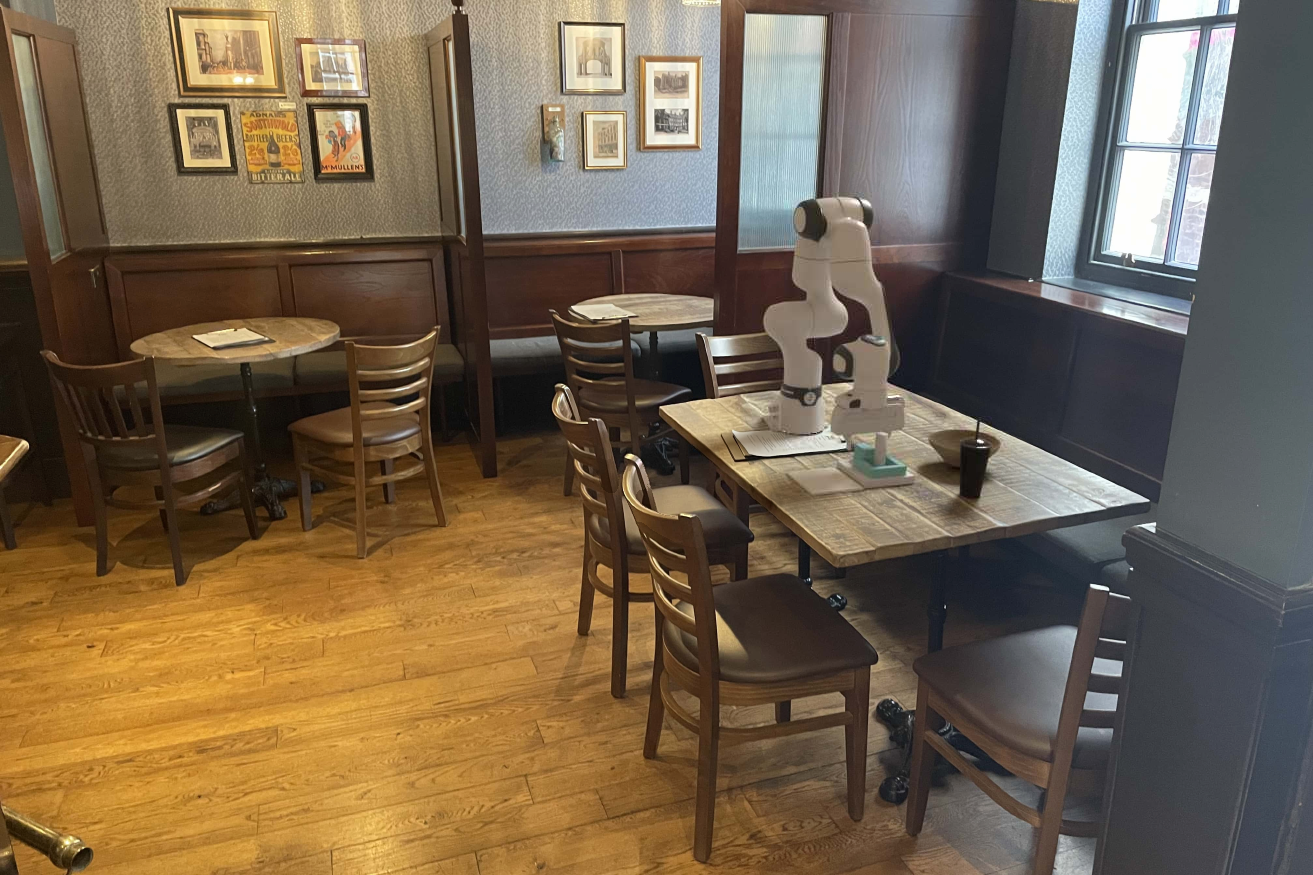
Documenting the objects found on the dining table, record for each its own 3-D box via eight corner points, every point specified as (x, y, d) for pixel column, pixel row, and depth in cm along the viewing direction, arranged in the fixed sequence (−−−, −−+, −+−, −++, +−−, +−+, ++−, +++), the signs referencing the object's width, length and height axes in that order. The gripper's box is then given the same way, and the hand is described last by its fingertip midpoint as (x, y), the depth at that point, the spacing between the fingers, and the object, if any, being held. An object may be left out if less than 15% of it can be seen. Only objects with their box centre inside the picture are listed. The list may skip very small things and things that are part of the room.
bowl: (922, 473, 243) (924, 444, 241) (929, 452, 260) (932, 425, 257) (996, 482, 237) (999, 453, 235) (998, 460, 253) (1002, 432, 251)
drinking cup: (985, 502, 224) (995, 424, 218) (952, 498, 226) (961, 420, 220) (986, 491, 231) (995, 415, 224) (954, 487, 233) (963, 412, 227)
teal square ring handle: (842, 458, 248) (843, 444, 247) (875, 455, 251) (876, 441, 249) (870, 478, 233) (872, 464, 232) (906, 475, 236) (907, 460, 235)
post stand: (836, 467, 247) (839, 424, 243) (883, 463, 251) (886, 421, 247) (865, 488, 232) (868, 443, 229) (914, 483, 236) (918, 438, 232)
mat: (786, 473, 242) (786, 471, 242) (834, 469, 246) (834, 467, 246) (812, 495, 228) (812, 493, 227) (863, 490, 231) (863, 487, 231)
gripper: (899, 392, 246) (895, 441, 250) (829, 397, 241) (826, 447, 245) (911, 398, 241) (907, 448, 245) (840, 403, 235) (837, 454, 239)
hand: (866, 448), depth 245 cm, fingers open, 8 cm apart
